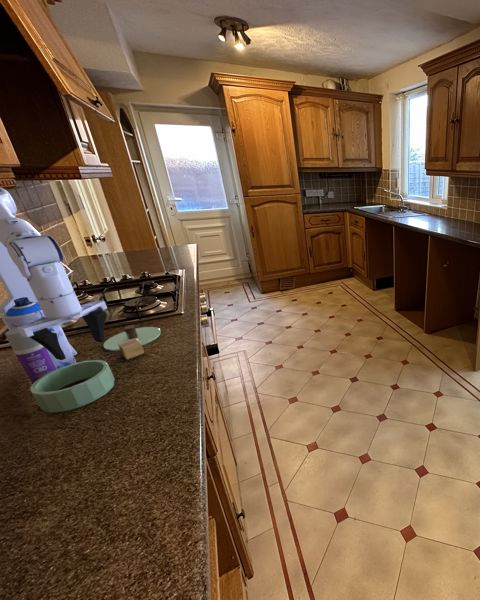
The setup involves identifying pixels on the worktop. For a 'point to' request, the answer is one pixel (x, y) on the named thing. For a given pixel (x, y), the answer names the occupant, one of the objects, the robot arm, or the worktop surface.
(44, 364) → the container
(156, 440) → the worktop surface
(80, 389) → the pot
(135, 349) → the block
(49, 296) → the robot arm
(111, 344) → the lid
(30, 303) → the aerosol can
